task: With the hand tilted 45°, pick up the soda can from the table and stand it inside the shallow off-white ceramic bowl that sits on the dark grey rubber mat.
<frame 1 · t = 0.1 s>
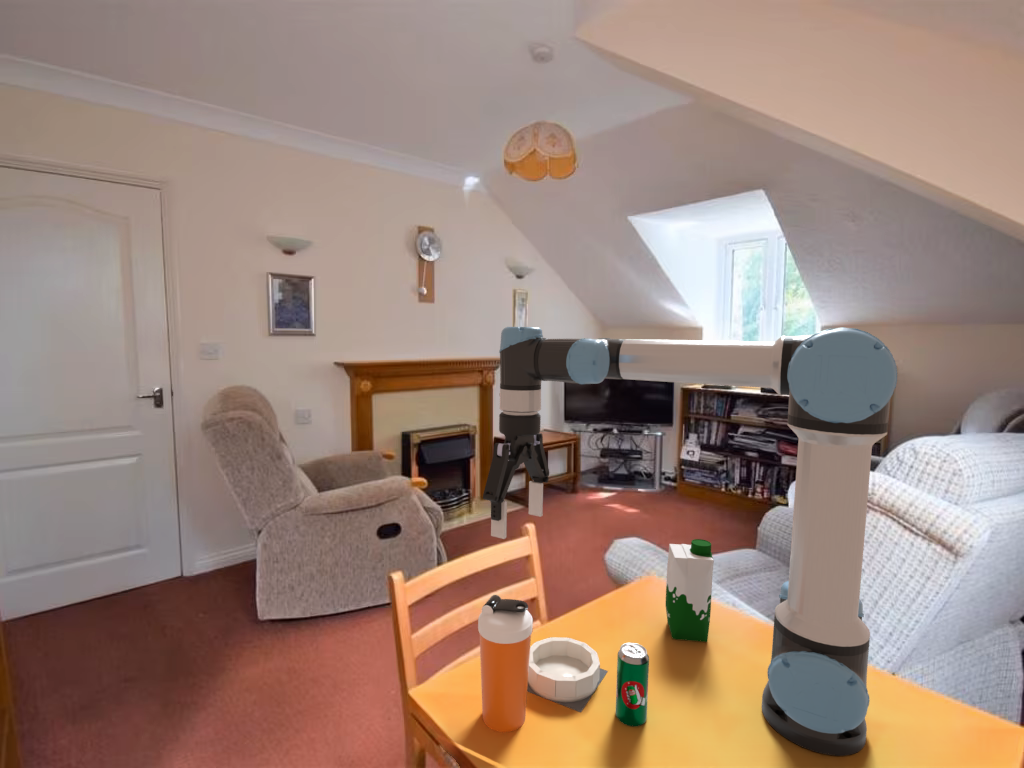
hand: (518, 525, 100), 28 cm above the table, tool pointing down, fingers open, 13 cm apart
mat: (561, 680, 99), on the table
soda can: (630, 719, 90), on the table
milk carton: (686, 632, 116), on the table
bowl: (561, 678, 99), resting on mat
shaker bottle: (504, 719, 89), on the table
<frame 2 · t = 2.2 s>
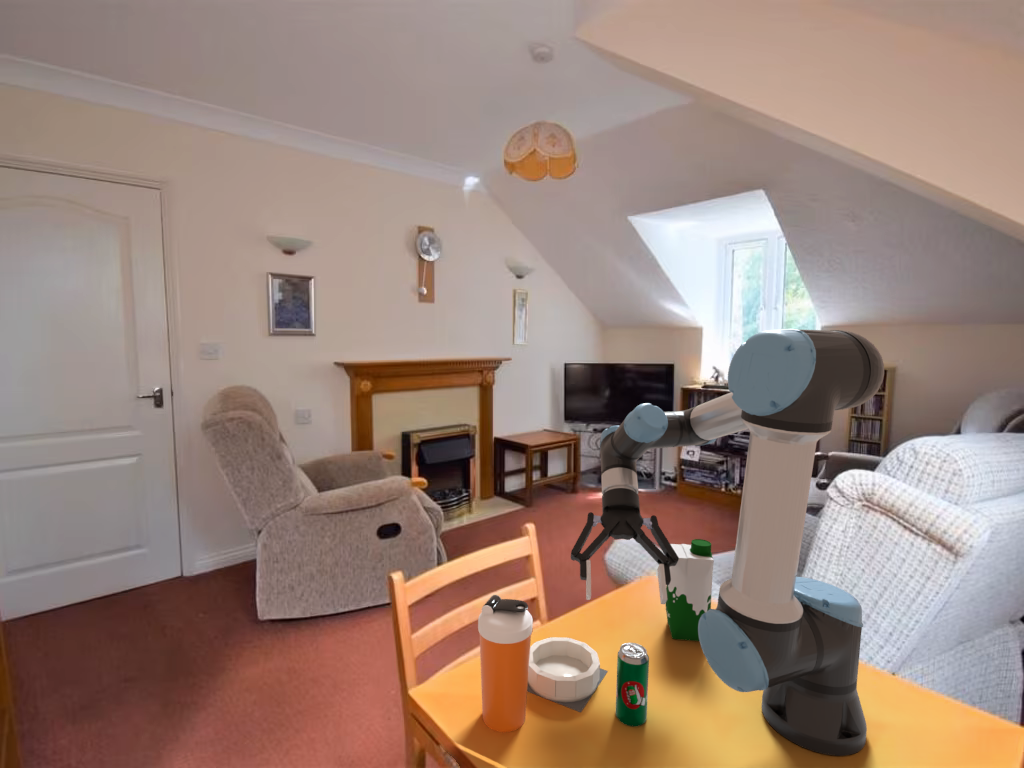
hand: (626, 599, 99), 15 cm above the table, tool tilted 45°, fingers open, 13 cm apart
nothing on the table moved.
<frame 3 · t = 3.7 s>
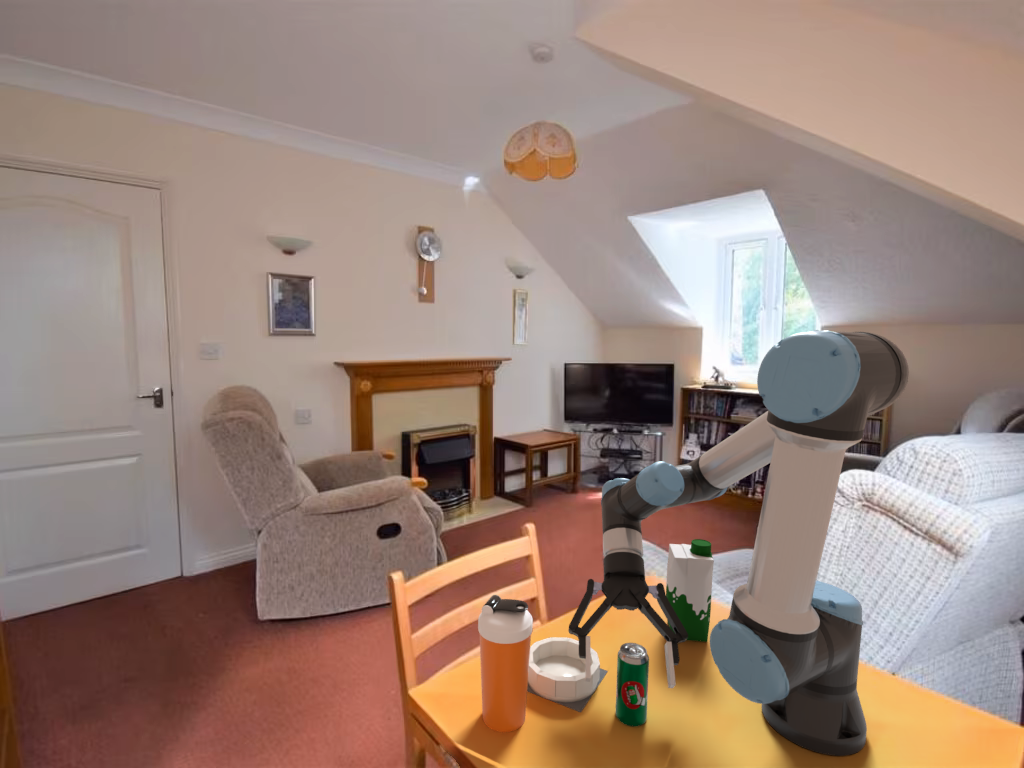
hand: (629, 683, 89), 6 cm above the table, tool tilted 45°, fingers open, 13 cm apart
nothing on the table moved.
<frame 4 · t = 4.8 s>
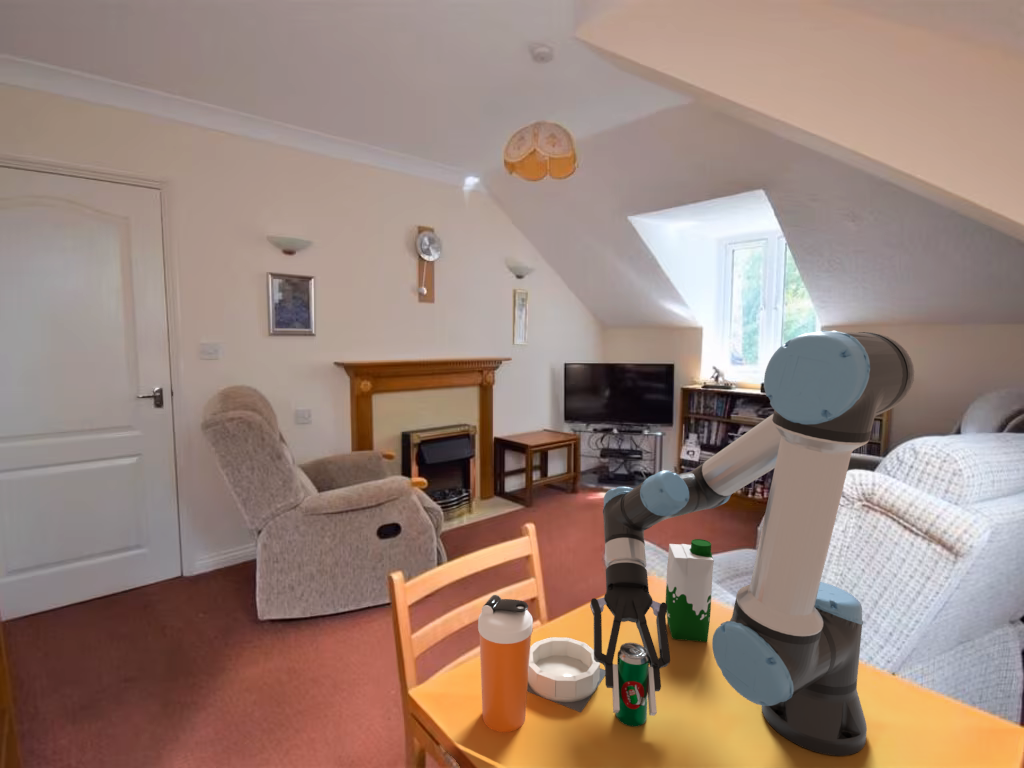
hand: (634, 712, 86), 4 cm above the table, tool tilted 45°, fingers closed on soda can, 5 cm apart
soda can: (630, 719, 90), on the table, touching gripper
everything else where it was.
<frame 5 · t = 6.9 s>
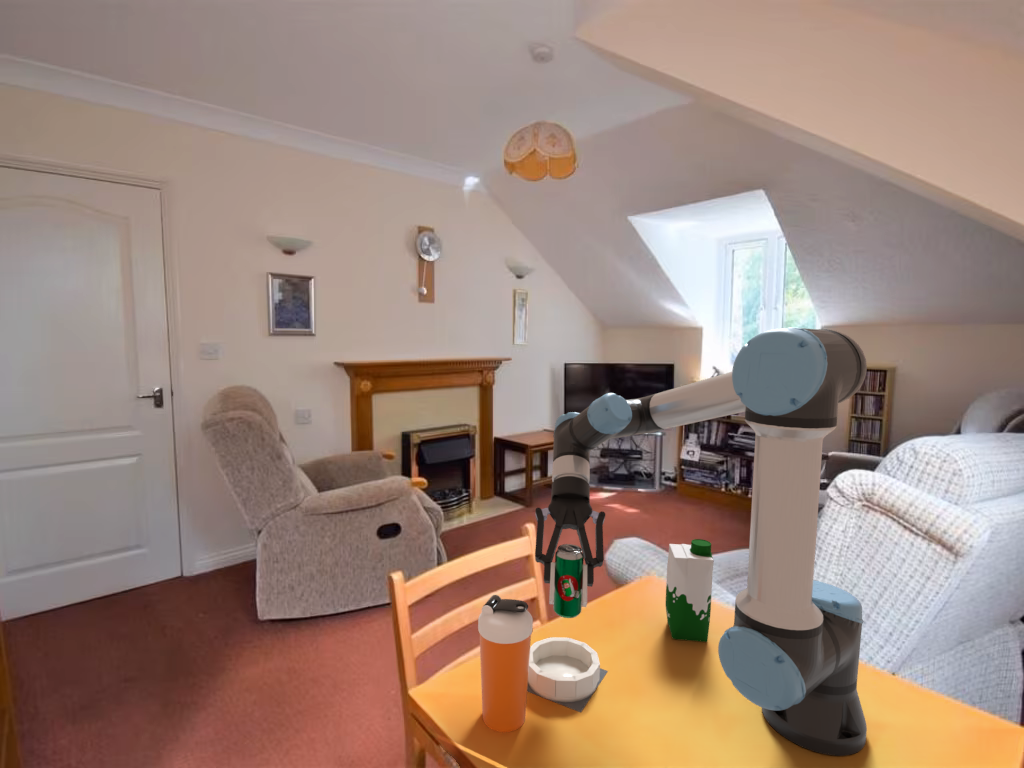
hand: (568, 602, 94), 17 cm above the table, tool tilted 45°, fingers closed on soda can, 5 cm apart
soda can: (567, 613, 98), point 13 cm above the table, touching gripper
everything else where it was.
when the fingers open (6 cm above the table, at t = 9.2 s): soda can drops 1 cm, resting on bowl.
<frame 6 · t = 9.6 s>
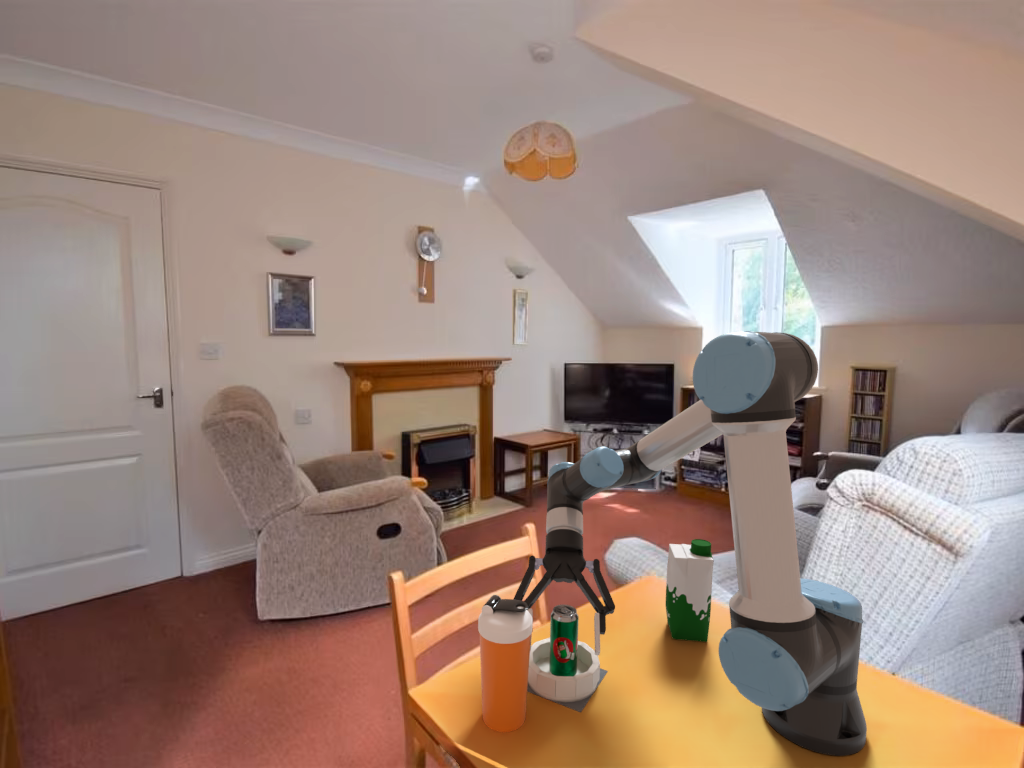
hand: (562, 651, 96), 7 cm above the table, tool tilted 45°, fingers open, 11 cm apart
soda can: (562, 673, 99), point 1 cm above the table, touching bowl
everything else where it was.
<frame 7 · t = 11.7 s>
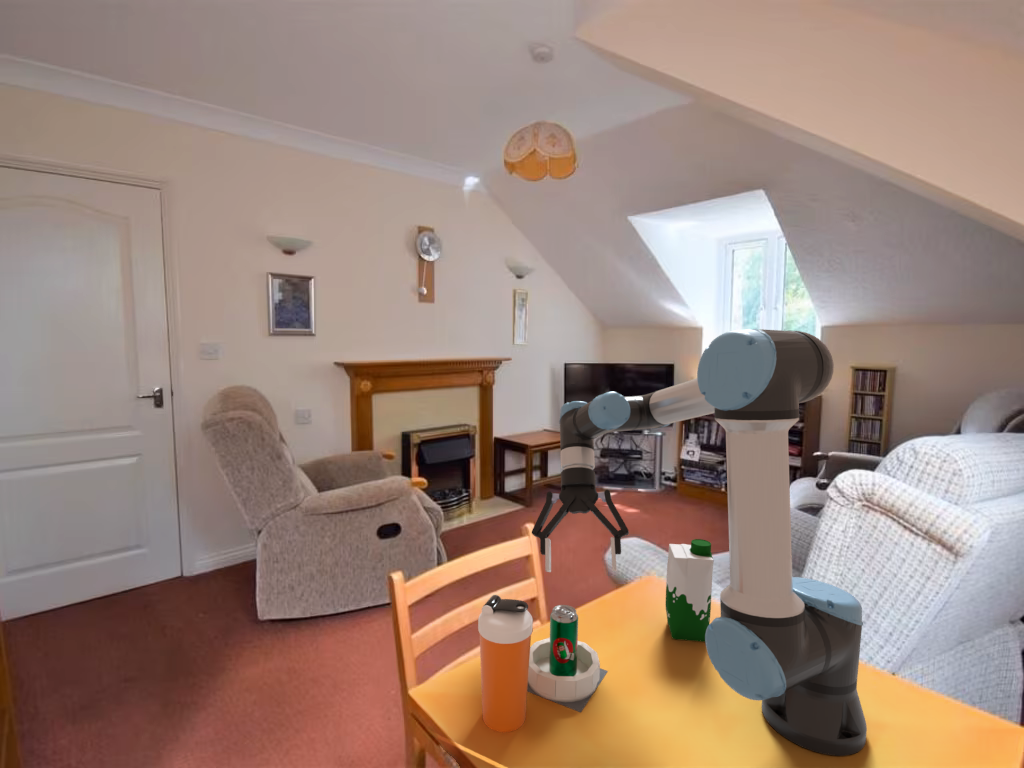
hand: (581, 571, 111), 15 cm above the table, tool tilted 30°, fingers open, 13 cm apart
nothing on the table moved.
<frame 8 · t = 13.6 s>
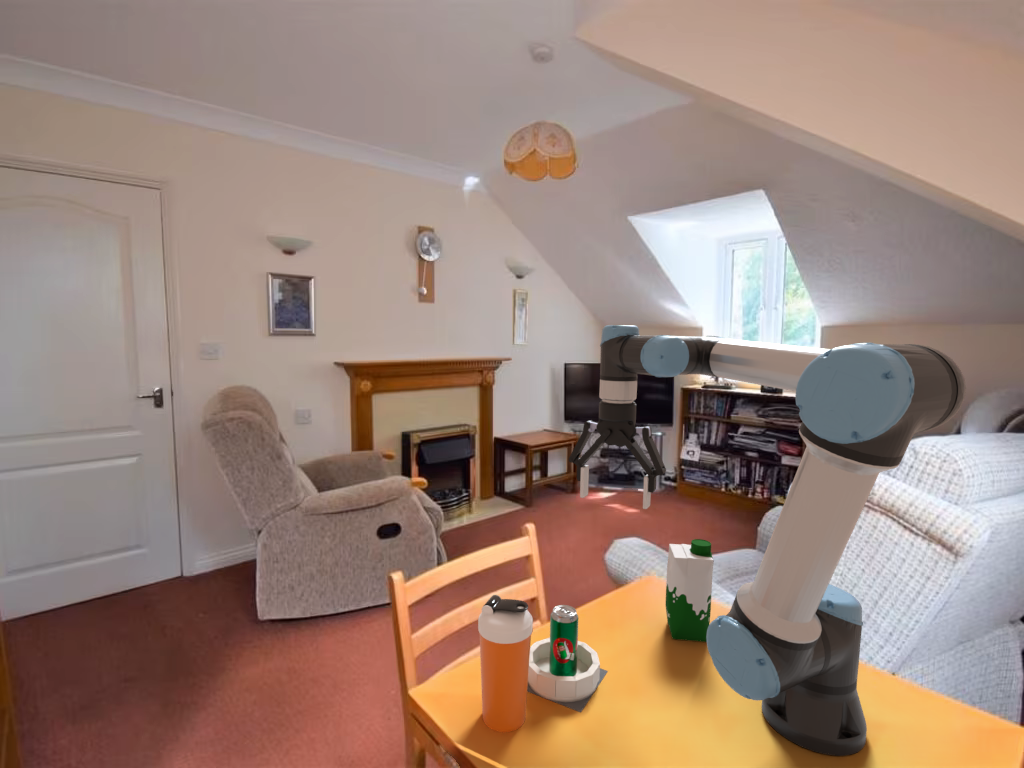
hand: (614, 501, 113), 29 cm above the table, tool pointing down, fingers open, 13 cm apart
nothing on the table moved.
at the end: soda can 0.2 cm from the bowl (horizontally); soda can touching bowl; soda can tilted 0° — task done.
